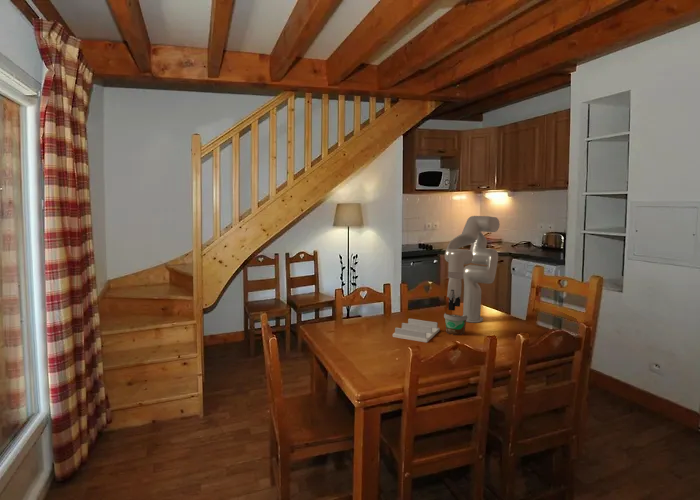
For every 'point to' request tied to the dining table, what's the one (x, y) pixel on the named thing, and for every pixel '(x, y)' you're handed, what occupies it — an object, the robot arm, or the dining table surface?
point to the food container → (455, 324)
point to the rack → (417, 330)
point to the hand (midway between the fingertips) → (454, 308)
